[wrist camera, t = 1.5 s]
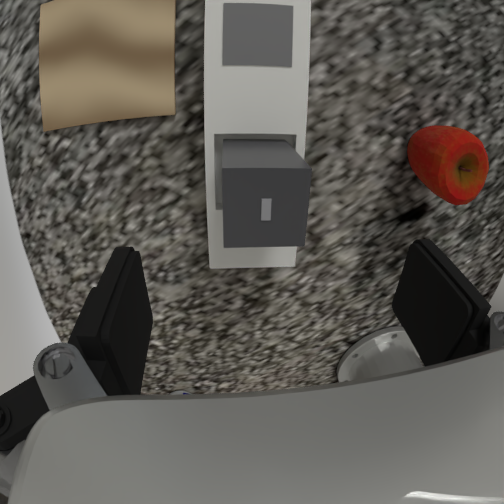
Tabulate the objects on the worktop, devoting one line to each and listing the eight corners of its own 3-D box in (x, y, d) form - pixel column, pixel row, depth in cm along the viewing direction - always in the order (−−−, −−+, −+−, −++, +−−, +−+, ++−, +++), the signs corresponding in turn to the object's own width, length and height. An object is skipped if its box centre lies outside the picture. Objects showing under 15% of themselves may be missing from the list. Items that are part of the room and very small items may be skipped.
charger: (282, 195, 25) (306, 246, 18) (223, 196, 25) (223, 248, 18) (285, 139, 23) (313, 169, 16) (223, 139, 23) (221, 168, 16)
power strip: (287, 244, 30) (296, 270, 27) (211, 246, 30) (209, 272, 26) (297, -131, 11) (307, -153, 7) (217, -135, 11) (216, -159, 7)
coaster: (175, 114, 24) (175, 114, 23) (45, 130, 23) (43, 131, 22) (177, -24, 17) (176, -25, 17) (43, 5, 17) (40, 5, 16)
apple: (452, 166, 27) (499, 195, 21) (404, 189, 28) (447, 224, 22) (438, 108, 24) (491, 124, 18) (387, 129, 25) (434, 149, 19)
